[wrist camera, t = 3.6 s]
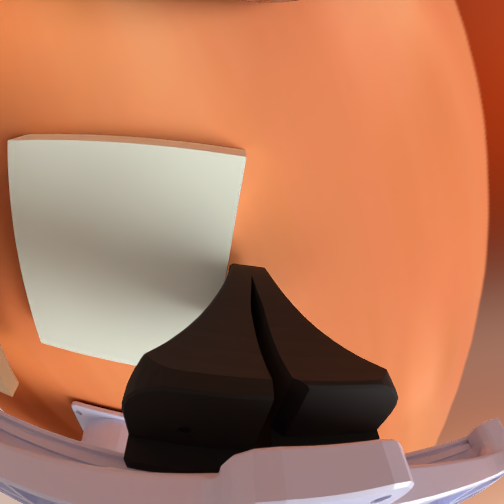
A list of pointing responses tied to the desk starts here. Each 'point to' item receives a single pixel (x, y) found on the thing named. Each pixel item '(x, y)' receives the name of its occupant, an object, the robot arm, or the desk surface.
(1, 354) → the shelf unit
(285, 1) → the vase
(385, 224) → the desk surface
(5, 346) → the desk surface
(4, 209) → the desk surface
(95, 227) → the panel
